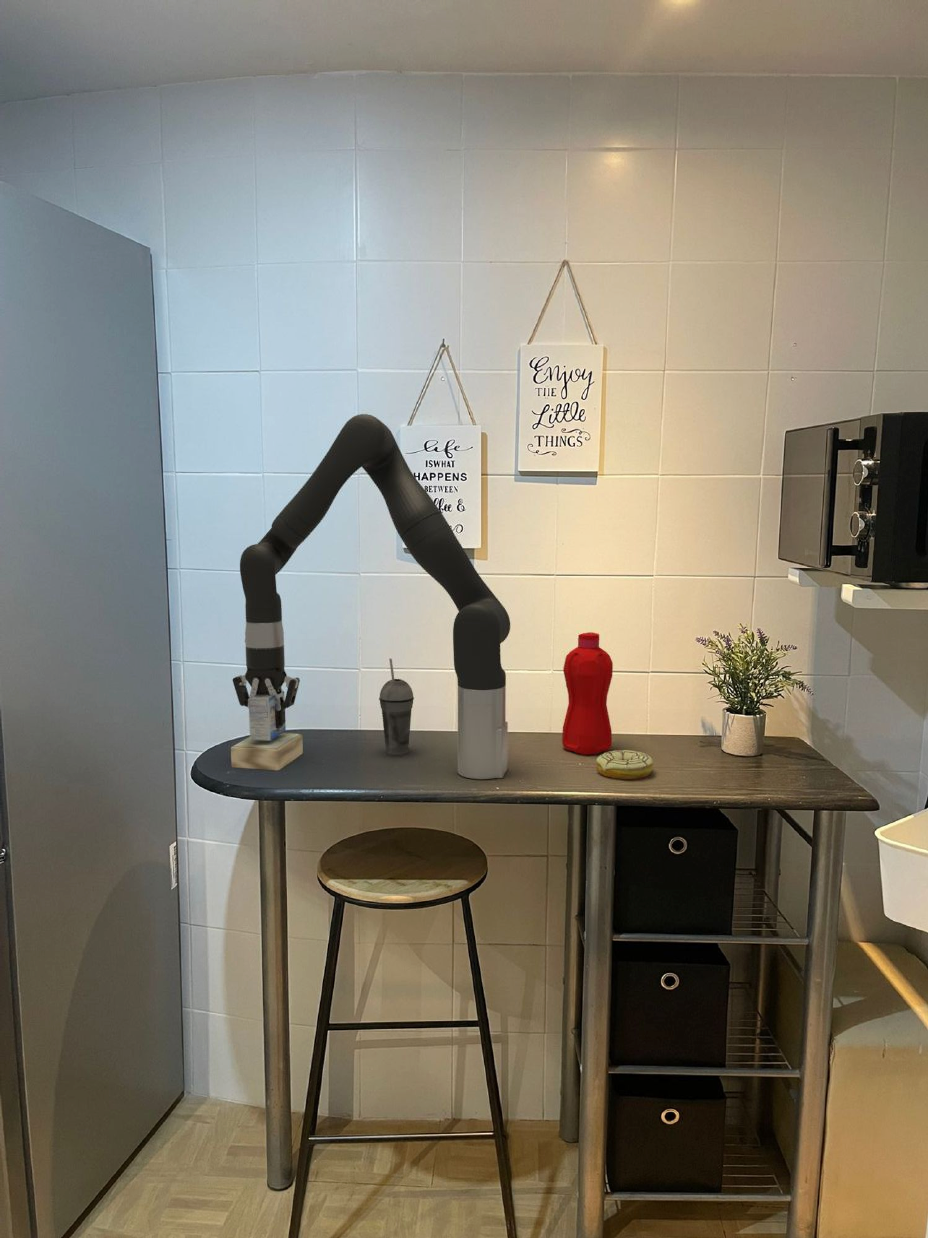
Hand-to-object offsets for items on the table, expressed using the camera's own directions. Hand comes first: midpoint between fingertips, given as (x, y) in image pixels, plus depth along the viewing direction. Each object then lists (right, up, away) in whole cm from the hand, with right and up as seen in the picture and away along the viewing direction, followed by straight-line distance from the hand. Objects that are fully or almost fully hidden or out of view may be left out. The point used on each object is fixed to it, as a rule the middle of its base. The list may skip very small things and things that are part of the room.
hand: (267, 726), depth 176 cm
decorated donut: (+71, -8, -7) cm, 72 cm away
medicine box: (0, -2, 0) cm, 2 cm away
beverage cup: (+26, -6, +7) cm, 27 cm away
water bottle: (+65, -6, +9) cm, 66 cm away
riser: (0, -7, +1) cm, 7 cm away
